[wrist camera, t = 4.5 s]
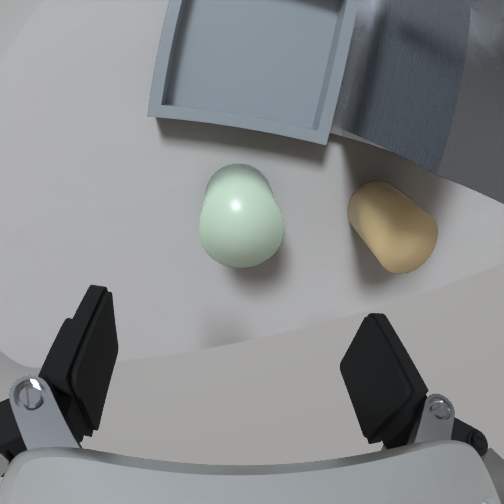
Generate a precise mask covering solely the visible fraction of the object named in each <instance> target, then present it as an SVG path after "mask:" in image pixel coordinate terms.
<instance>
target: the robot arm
mask: <svg viewBox="0 0 504 504" xmlns="http://www.w3.org/2000/svg"><path fill="white" fill-rule="evenodd" d="M117 354H118V340H117V333H116V325H115V317H114V308H113V298H112V293H111V292H108V291H107V288H106V287H103V286H96V285H90V287H89V288H88V290H87V292H86V294H85V296H84V298H83V300H82V301H81V303H80V305H79V307H78V309H77V311H76V313H75V315H74V317H73V319H71V318H67V319H66V320H65V321H64V323H63V325H62V327H61V328H60V330H59V332H58V334H57V337H56V339H55V341H54V343H53V345H52V347H51V349H50V351H49V353H48V355H47V358H46V360H45V362H44V364H43V366H42V369H41V371H40V373H39V376H38V377H37V376H31V375H29V376H24V377H21V378H19V379H17V380H16V381H15V382H14V383H13V385H12V387H11V388H10V393H9V399H6V400H4V401H2V402H0V477H3V479H2V482H1V485H0V504H504V460H503V459H502V458H501V457H500V456H499V455H498V454H497V453H496V452H495V451H494V450H493V449H492V448H489V449H488V443H487V440H486V438H485V436H484V435H483V434H482V432H480V431H479V430H477V429H475V428H473V427H472V426H470V425H468V424H466V423H464V422H462V421H460V420H459V419H457V418H455V417H454V415H455V412H454V407H453V405H452V403H451V402H450V401H449V400H448V399H447V398H446V397H444V396H442V395H440V394H432V395H430V396H429V397H427V396H426V393H427V392H428V389H427V387H426V385H425V383H424V381H423V379H422V378H421V376H420V374H419V372H418V370H417V369H416V367H415V365H414V363H413V361H412V360H411V358H410V356H409V354H408V353H407V351H406V349H405V347H404V346H403V344H402V342H401V341H400V339H399V337H398V335H397V334H396V332H395V331H394V329H393V327H392V325H391V324H390V322H389V320H388V319H387V317H386V316H385V315H384V314H379V313H371V314H369V315H368V316H367V317H365V318H364V320H363V322H362V323H361V326H360V327H359V329H358V331H357V333H356V335H355V337H354V339H353V341H352V343H351V345H350V346H349V348H348V350H347V352H346V354H345V356H344V357H343V359H342V361H341V363H340V371H341V374H342V376H343V379H344V382H345V385H346V387H347V390H348V393H349V396H350V399H351V401H352V404H353V407H354V410H355V413H356V416H357V418H358V421H359V424H360V427H361V430H362V433H363V435H364V437H366V438H367V439H368V442H369V444H372V443H377V442H381V441H383V444H384V445H383V447H382V450H381V451H378V452H373V453H368V454H363V455H357V456H351V457H345V458H338V459H331V460H323V461H315V462H305V463H293V464H278V465H206V464H189V463H179V462H169V461H159V460H152V459H144V458H137V457H131V456H124V455H118V454H113V453H107V452H101V451H95V450H90V449H83V448H82V446H81V444H80V442H81V441H82V440H83V436H84V435H85V436H90V437H92V433H93V430H98V428H99V424H100V420H101V416H102V411H103V407H104V403H105V399H106V395H107V391H108V387H109V383H110V380H111V376H112V372H113V368H114V365H115V361H116V358H117Z"/></svg>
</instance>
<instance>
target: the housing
mask: <svg viewBox="0 0 504 504" xmlns="http://www.w3.org/2000/svg"><path fill="white" fill-rule="evenodd" d="M330 133H332V134H336V135H339V136H343V137H347V138H350V139H354V140H357V141H360V142H364V143H367V144H370V145H373V146H377V147H380V148H383V149H386V150H389V151H392V152H394V153H396V154H398V155H400V156H402V157H404V158H406V159H408V160H410V161H412V162H414V163H416V164H418V165H420V166H421V167H423V168H425V169H427V170H429V171H431V172H432V173H434V174H436V175H438V176H441V177H443V178H446V179H448V180H451V181H453V182H456V183H458V184H461V185H463V186H465V187H468V188H470V189H472V190H475V191H477V192H479V193H482V194H484V195H486V196H488V197H490V198H492V199H495V200H497V201H499V202H501V203H503V204H504V0H359V2H358V7H357V12H356V18H355V23H354V27H353V32H352V37H351V42H350V47H349V51H348V56H347V61H346V65H345V70H344V74H343V78H342V83H341V87H340V91H339V96H338V100H337V104H336V108H335V112H334V116H333V121H332V125H331V129H330Z"/></svg>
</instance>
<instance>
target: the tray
mask: <svg viewBox="0 0 504 504" xmlns="http://www.w3.org/2000/svg"><path fill="white" fill-rule="evenodd" d="M358 2H359V0H169V3H168V7H167V11H166V15H165V19H164V24H163V28H162V33H161V37H160V42H159V47H158V52H157V57H156V63H155V68H154V74H153V80H152V86H151V93H150V99H149V107H148V114H147V116H148V117H160V118H171V119H181V120H189V121H198V122H206V123H213V124H220V125H227V126H233V127H239V128H245V129H251V130H257V131H262V132H268V133H273V134H278V135H283V136H287V137H292V138H297V139H301V140H306V141H310V142H314V143H318V144H323V145H326V144H327V140H328V137H329V133H330V129H331V125H332V121H333V116H334V112H335V108H336V104H337V100H338V96H339V91H340V87H341V83H342V78H343V74H344V70H345V65H346V61H347V56H348V51H349V47H350V42H351V37H352V32H353V27H354V23H355V18H356V12H357V7H358Z"/></svg>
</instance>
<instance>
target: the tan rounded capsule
mask: <svg viewBox="0 0 504 504" xmlns="http://www.w3.org/2000/svg"><path fill="white" fill-rule="evenodd" d="M348 219H349V221H350V224H351V225H352V227H353V228H354V229H355V230H356V232H357V233H358V234H359V235H360V237H361V238H362V239H363V241H364V242H365V243H366V244H367V246H368V247H369V248H370V250H371V251H372V252H373V254H374V255H375V256H376V258H377V259H378V260H379V262H380V263H381V264H382V266H383V267H384V268H385V269H386V270H388V271H389V272H392V273H396V274H403V273H408V272H411V271H413V270H415V269H417V268H418V267H419V266H421V265H422V264H423V263H424V262H425V261H426V260H427V259H428V258H429V256H430V255H431V253H432V252H433V250H434V248H435V245H436V242H437V236H438V230H437V225H436V222H435V220H434V218H433V217H432V216H431V215H430V214H429V213H427V212H426V211H425V210H424V209H422V208H421V207H420V206H418V205H417V204H416V203H414V202H413V201H412V200H410V199H409V198H408V197H406V196H405V195H404V194H402V193H401V192H400V191H398V190H397V189H396V188H394V187H393V186H391V185H390V184H388V183H387V182H384V181H379V180H376V181H370V182H367V183H365V184H363V185H362V186H360V187H359V188H358V189H357V190H356V191H355V192H354V194H353V195H352V197H351V199H350V201H349V205H348Z"/></svg>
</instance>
